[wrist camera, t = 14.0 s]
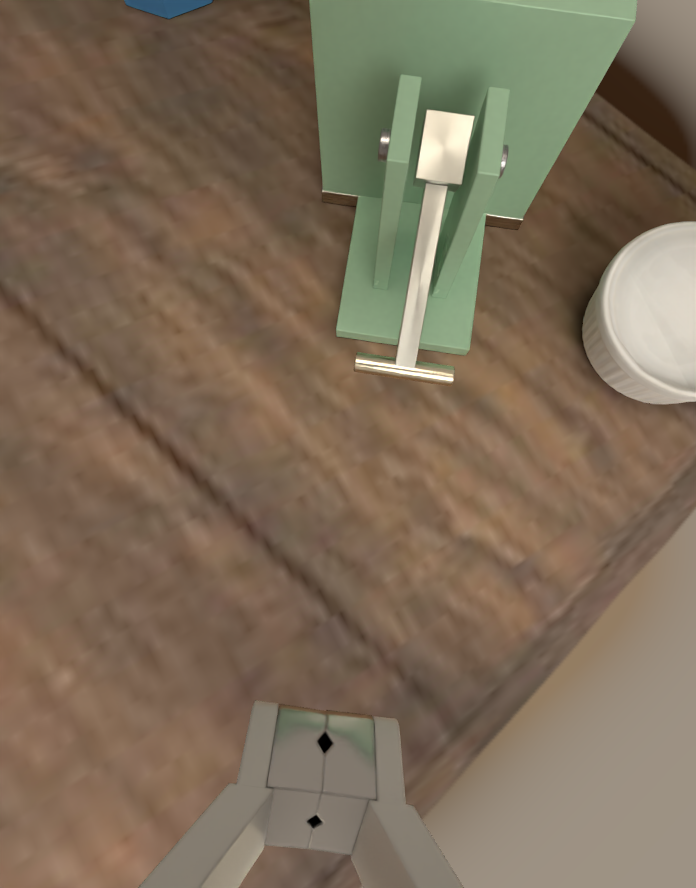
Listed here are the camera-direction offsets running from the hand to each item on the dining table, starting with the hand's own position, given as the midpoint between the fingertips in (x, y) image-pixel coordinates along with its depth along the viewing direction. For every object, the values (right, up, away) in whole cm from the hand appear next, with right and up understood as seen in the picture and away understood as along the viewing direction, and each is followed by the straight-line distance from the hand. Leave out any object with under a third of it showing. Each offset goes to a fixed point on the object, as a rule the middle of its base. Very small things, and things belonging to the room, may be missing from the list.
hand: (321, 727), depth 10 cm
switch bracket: (+5, +18, +25) cm, 31 cm away
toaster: (+6, +27, +26) cm, 38 cm away
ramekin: (+21, +13, +24) cm, 35 cm away
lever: (+4, +16, +16) cm, 23 cm away
